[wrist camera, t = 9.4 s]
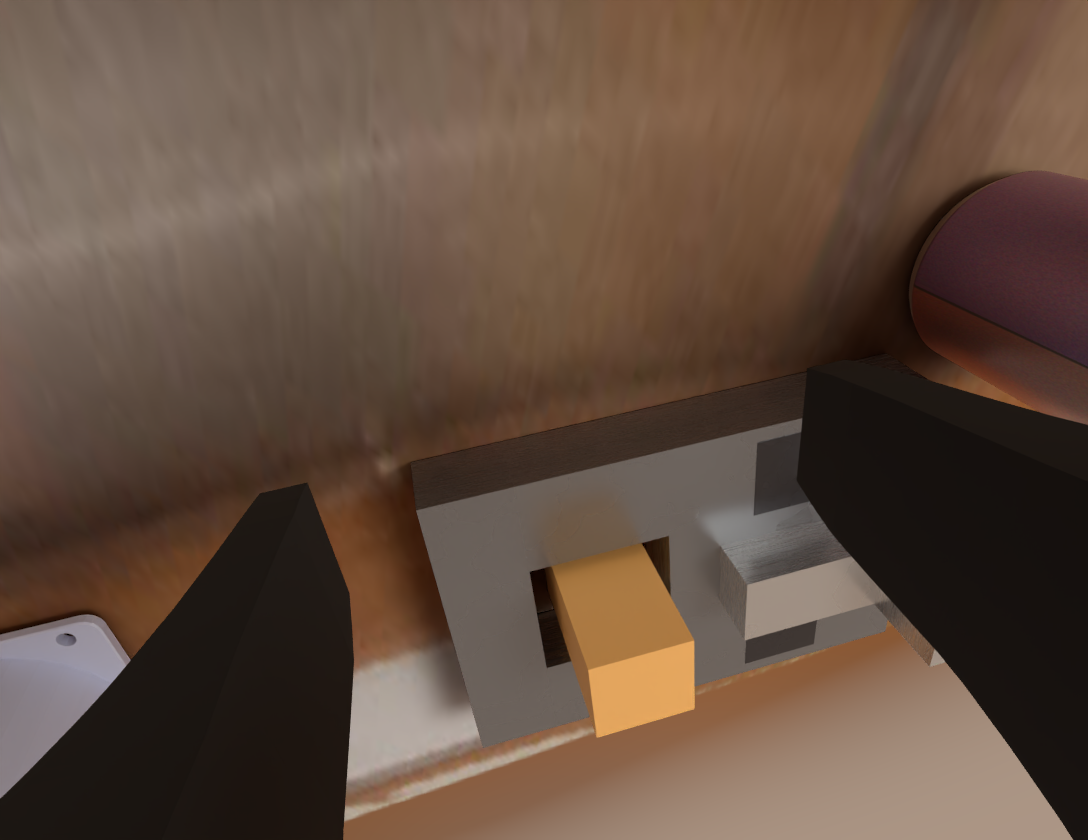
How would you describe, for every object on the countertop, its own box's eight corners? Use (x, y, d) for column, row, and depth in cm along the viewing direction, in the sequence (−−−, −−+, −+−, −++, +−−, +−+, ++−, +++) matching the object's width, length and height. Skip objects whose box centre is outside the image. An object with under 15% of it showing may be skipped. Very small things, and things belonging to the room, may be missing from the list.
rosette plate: (473, 692, 26) (483, 748, 24) (410, 462, 20) (416, 511, 18) (848, 587, 28) (885, 631, 26) (886, 353, 23) (938, 386, 21)
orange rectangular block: (547, 591, 25) (596, 737, 20) (538, 528, 23) (588, 670, 18) (626, 570, 25) (694, 708, 20) (622, 507, 23) (694, 640, 18)
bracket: (719, 600, 23) (787, 709, 20) (720, 545, 22) (794, 652, 18) (887, 554, 24) (982, 650, 20) (898, 499, 23) (1002, 592, 19)
